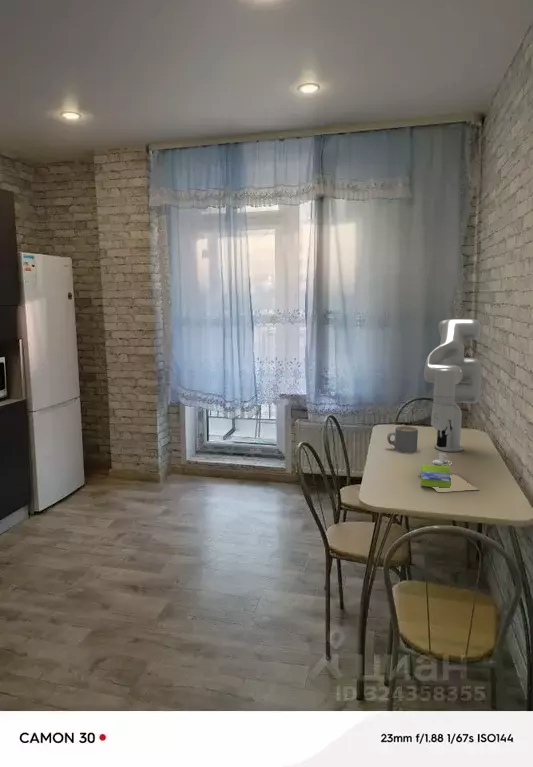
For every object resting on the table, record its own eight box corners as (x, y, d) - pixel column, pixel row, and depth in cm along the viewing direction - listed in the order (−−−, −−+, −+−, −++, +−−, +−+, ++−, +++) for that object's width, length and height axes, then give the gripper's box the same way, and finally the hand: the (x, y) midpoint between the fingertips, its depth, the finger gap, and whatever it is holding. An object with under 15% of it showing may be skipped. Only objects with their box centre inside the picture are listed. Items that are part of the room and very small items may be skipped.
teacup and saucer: (437, 467, 217) (438, 458, 216) (427, 461, 224) (427, 452, 224) (456, 465, 219) (456, 456, 218) (444, 459, 227) (445, 450, 226)
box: (420, 473, 208) (420, 488, 191) (421, 463, 207) (421, 477, 191) (448, 475, 205) (451, 491, 188) (449, 465, 204) (451, 480, 188)
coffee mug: (417, 447, 244) (418, 426, 242) (416, 453, 235) (417, 432, 233) (388, 445, 248) (389, 424, 247) (386, 450, 239) (386, 429, 237)
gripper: (426, 396, 205) (424, 441, 208) (443, 404, 191) (441, 452, 194) (444, 396, 206) (441, 440, 209) (462, 403, 191) (460, 451, 194)
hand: (441, 446), depth 201 cm, fingers closed
